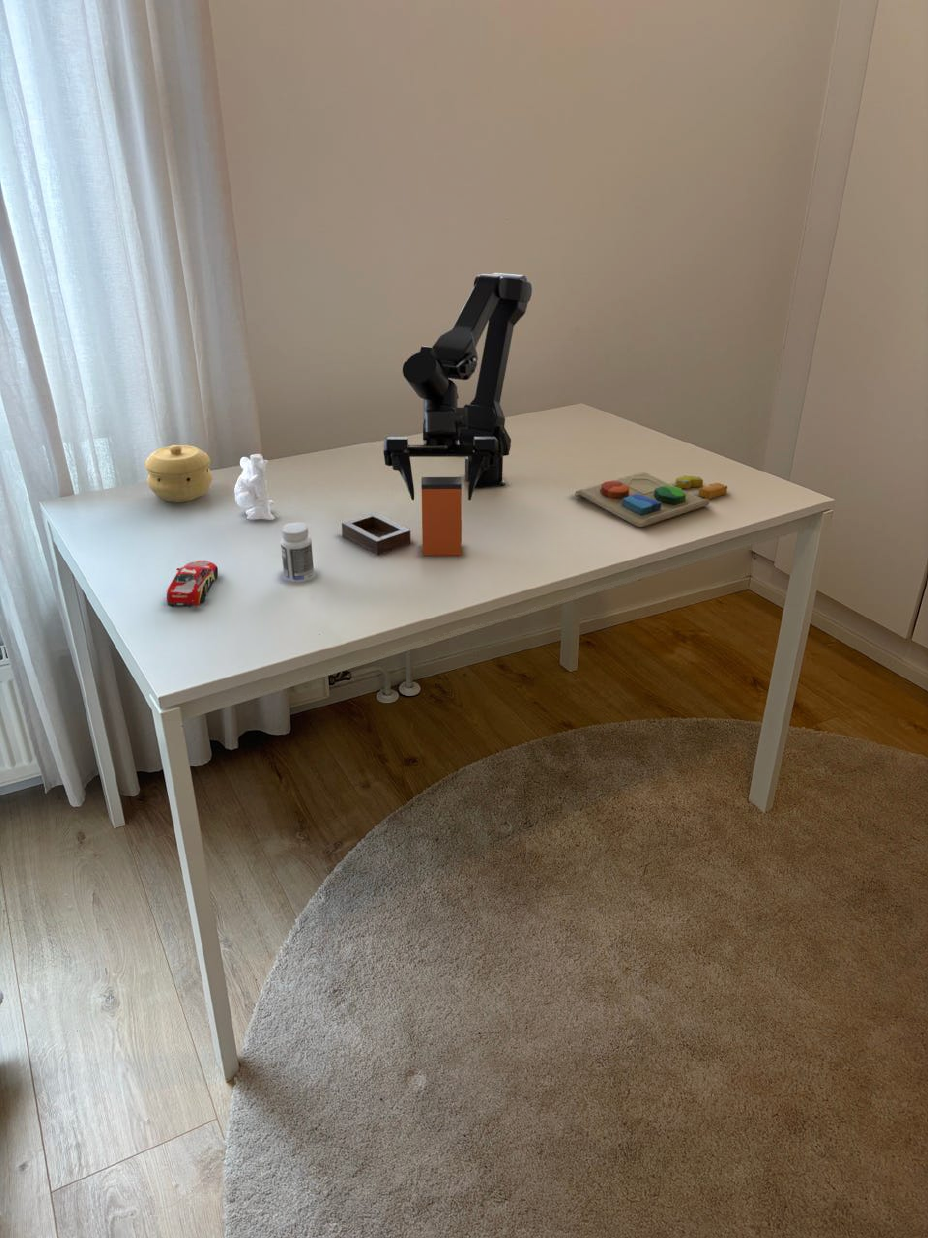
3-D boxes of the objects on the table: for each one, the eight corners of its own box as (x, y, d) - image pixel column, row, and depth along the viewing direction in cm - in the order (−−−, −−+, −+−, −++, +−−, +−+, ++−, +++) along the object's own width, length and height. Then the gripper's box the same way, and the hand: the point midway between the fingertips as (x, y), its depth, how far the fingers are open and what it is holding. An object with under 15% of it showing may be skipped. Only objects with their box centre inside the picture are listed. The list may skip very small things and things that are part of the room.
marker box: (422, 547, 160) (421, 476, 154) (461, 547, 161) (461, 476, 154) (422, 556, 157) (421, 484, 151) (461, 555, 158) (462, 484, 151)
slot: (375, 525, 168) (374, 512, 167) (410, 543, 162) (410, 530, 160) (342, 536, 164) (341, 522, 163) (377, 555, 158) (376, 541, 156)
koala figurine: (286, 519, 170) (280, 454, 164) (251, 528, 167) (244, 462, 161) (265, 504, 176) (259, 441, 170) (231, 512, 173) (223, 449, 167)
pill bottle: (319, 572, 152) (315, 523, 148) (305, 585, 148) (301, 535, 144) (292, 568, 153) (288, 519, 149) (278, 580, 149) (273, 531, 145)
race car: (189, 572, 152) (185, 549, 150) (222, 572, 152) (219, 549, 150) (161, 611, 140) (157, 587, 139) (198, 612, 140) (194, 588, 138)
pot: (202, 481, 187) (195, 431, 182) (224, 500, 178) (217, 448, 173) (141, 493, 181) (133, 442, 176) (161, 513, 172) (153, 460, 167)
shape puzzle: (645, 531, 166) (647, 513, 165) (571, 498, 180) (572, 481, 178) (740, 498, 180) (742, 481, 178) (664, 470, 193) (666, 454, 191)
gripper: (381, 388, 152) (380, 478, 148) (499, 388, 153) (501, 478, 148) (385, 421, 163) (384, 506, 159) (495, 421, 163) (497, 506, 159)
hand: (441, 499), depth 156 cm, fingers open, 9 cm apart
